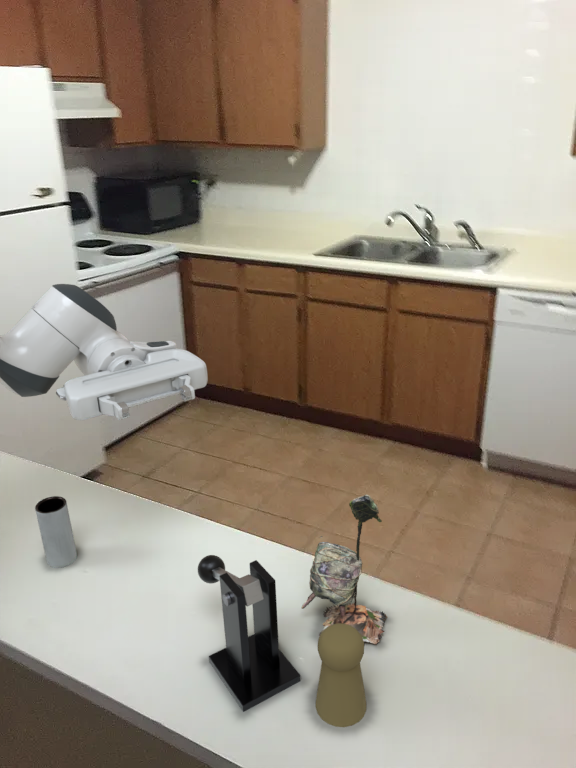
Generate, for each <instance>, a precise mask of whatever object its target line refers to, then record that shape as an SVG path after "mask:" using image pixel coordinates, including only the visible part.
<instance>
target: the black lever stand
mask: <svg viewBox="0 0 576 768" xmlns="http://www.w3.org/2000/svg"><path fill="white" fill-rule="evenodd" d="M249 575H251V576H253V577H255V578H257V579H259V581H260V585H261V589H262V594H263V598H264V599H263V600H261V601H258V602H256V603H254V604H252V605H251V606H252V617H253V618H252V619H253V620H252V621H253V634H251V635H249V631H248V630H249V629H248V619H247V606H246V603H245V594H244V592H243V591H242V590H241V589H240V588H239V587H238V585H237V584H236V583H235V582H234V581H233V579H232V578H231V577H230V576H229V575H228V574H227V573H225V574H222V575H220V576H219V577H220V581H219V586H220V598H221V608H222V609H221V610H222V618H223V628H224V639H225V647H224V648H222V649H220V650H218V651H216V652H214V653H212V654H210V655H208V661H209V662H208V663H209V664H210V666H211V667H212V668H213V670H214V671H215V673H216V674H217V676H218V678H219V679H220V680H221V682H222V683H223V685H224V686H225V688H226V689H227V692H229V693H230V695H231V697H232V698H233V700H234V701H235V702H236V704H237V706H238V707H239V709H240V710H241V711H242V713H244V712H247V711H248V710H251V709H252V708H254V707H256V706H257V705H259V704H261V703H263V702H266V701H267V700H268V699H270V698H272V697H274V696H276V695H277V694H280V693H282V692H283V691H285V690H287V689H288V688H291V687H292V686H295V685H296V684H298V683H300V682H301V680H302V679H301V673H299V672H298V670H297V669H296V668H295V667H294V665H293V664H292V663H291V661H290V660H289V659H288V658H287V657H286V656H285V654H284V653H283V652H282V651H281V650H280V643H279V625H278V623H279V622H278V607H277V606H278V605H277V588H276V587H277V586H276V579H275V578H274V577H273V576H272V575H271V574H270V573H269V571H267V570H266V569H265V567H264V566H263V565H262V564H261V563H260V562H259V561H258V560H257V559H256V560H253V561H251V562H249Z"/></svg>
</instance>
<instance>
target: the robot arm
mask: <svg viewBox="0 0 576 768" xmlns="http://www.w3.org/2000/svg"><path fill="white" fill-rule="evenodd" d="M117 327H118V326H117V324H116V319H115V316H114V315H113V314H112V312H111V311H110V310H109V309H108V308H107V307H106V306H105V305H104V304H103V303H102V302H100V301H99V300H98V299H97V298H95V297H93V296H92V295H91V294H89V293H88V292H87V291H86V290H84V289H82V288H81V287H79V286H78V285H77V284H71V283H56V284H52V285H51V286H50V287H49V288H48V289H47V290H46V291H45V292H44V293H43V295H41V296H40V298H38V300H37V301H36V302H35V303H34V304H32V306H31V307H30V309H29V310H28V311H27V312H26V313H25V314H24V315H23V316H22V317H21V318H20V319H19V320H18V321H17V322H16V323H15V324H14V325H13V327H12V328H11V329H10V330H9V331H7V332H5V333H4V334H2V335H0V384H1V385H2V386H3V387H4V388H6V389H7V390H8V391H10V392H11V393H13V394H15V395H18V396H20V397H22V398H29V397H38V396H42V395H44V394H47V393H48V392H49V391H50V389H51V388H52V387H53V386H54V384H55V383H56V382H57V381H58V379H59V378H60V375H61V374H62V373H63V372H64V371H65V370H66V369H67V368H68V366H70V364H71V363H73V362H74V363H75V365H76V366H77V368H78V369H79V371H80V372H81V373H82V375H81V376H77V377H73V378H70V379H69V380H66V382H65V383H64V384H63V386H62V387H59V388H57V389H56V390H55V391H56V392H55V394H56V396H57V398H59V400H61V401H64V402H65V401H66V405H67V408H68V412H69V414H70V416H71V418H72V420H76V421H86V420H90V419H93V418H96V417H100V416H108V417H115V418H116V419H117V420H118V421H121V420H124V419H128V418H130V417H131V414H130V408H134V407H137V406H141V405H144V404H148V403H151V402H155V401H160V400H163V399H166V398H169V397H173V396H177V395H179V397H180V399H181V400H182V401H183V402H189V401H192V400H195V399H196V393H195V392H196V390H199V389H203V388H205V387H206V386H207V384H208V382H209V377H208V367H207V364H206V362H205V361H204V360H203V359H201V358H200V357H198V356H197V355H196V354H194V353H192V352H190V351H189V350H186V349H183V348H178V346H177V343H176V342H175V341H173V340H163V341H162V340H160V341H135V340H129V339H128V338H127V337H126V336H125V335H124V334H123V333H121V332H120V331H118V330H117Z"/></svg>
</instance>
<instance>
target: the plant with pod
mask: <svg viewBox="0 0 576 768" xmlns="http://www.w3.org/2000/svg"><path fill="white" fill-rule="evenodd" d="M348 505H349V508H350V510H351V513H352V514H353V517H354V518H355V520H357V521H358V522H357V538H356V545H355V547H356V548H355V549H356V550H352V549H351V548H349V547H347V546H345V545H341V544H339V543H338V544H337V543H331V542H328V541H321V542H318V544H317V546H316V549H315V551H314V559H313V560H312V565H311V567H310V570H309V573H310V574H309V583H308V584H309V589H310V591H311V592H312V593H310V594H309V596H308V597H307V599H306V600H305V602H304V603H303V604H302V605H301V609H302V610H304V609H305V608H307V606H309V605H310V604H311V603H312V601H313V600H314V599H315V598H320V599H322V600H328V601H329V602H331V604H333V606H332V605H331V606H325V607H326V609H324V611H323V612H322V613H323V617H324V618H327V619H326V620H325V621H324V622H323V623H322V626H323V628H322V630H321V631H320V632H319V634H318V637H320V635H321V633H322V632H323V631H324V630H325V629H326V628H327V627H328V626H330V625H333V624H338V623H341V624H347V625H351V626H352V627H354V628H355V629H356V630H357V631H358V632H359V633H360V634H361V636H362V638H363V641H364V643H365V642H366V643H370V644H373V645H377V644H378V643H379V642H381V639H382V638H383V636H382V634H383V633H385V632H386V630H384V626H386V624H385V621H387V618H388V616H387V614H386V613H385V612H384V611H383V610H382V611H380V610H372V609H371V608H368V607H367V606H366V605H362V604H357V597H358V582H359V580H360V576H361V575H362V570H363V565H364V563H363V560H362V558H361V557H360V545H361V535H362V529H363V524H364V523H366V522H368V521H369V520H373V519H375V520H376V521H377V522H378V523H382V522H383V520H382V519H381V518H380V516H379V514H380V511H379V507H378V504H376V503H375V500H374V499H373V498H372V497H371V495H369V494H364V495H361V496H357V497H355V498H353V499H352V500H351V501H349V503H348ZM319 538H320V539H322V538H323V535H320V536H319Z"/></svg>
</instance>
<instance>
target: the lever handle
mask: <svg viewBox="0 0 576 768" xmlns="http://www.w3.org/2000/svg"><path fill="white" fill-rule="evenodd" d="M225 573H227V574H228V575H229V576H230V577H231V578H232V579H233V581H234V582H235V583H236V584H237V585H238V587H239V588H240V589H241V590H242V591H243V592H244V594H245V603H246V608H247V607H250V606H252V604H254V603H256V602H258V601H261V600H263V599H264V598H263V594H262V589H261V585H260V581H259V579H257V578H255V577H253V576H251V575H250V573H249V574H246V575H244V576H241V577H239V576H237V575H235V574H233V573H231V572H229V571H227V570H226V565H225V562H224V560H223V559H222V558H221V557H220V556H218V555H214V554H208V555H206V556H204V557H202V559H200V561H199V563H198V565H197V575H198V576H199V578H200V580H201V581H202V582H204V583H206V584H216V583H219V582H220V577H219V576H220V575H222V574H225Z"/></svg>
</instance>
